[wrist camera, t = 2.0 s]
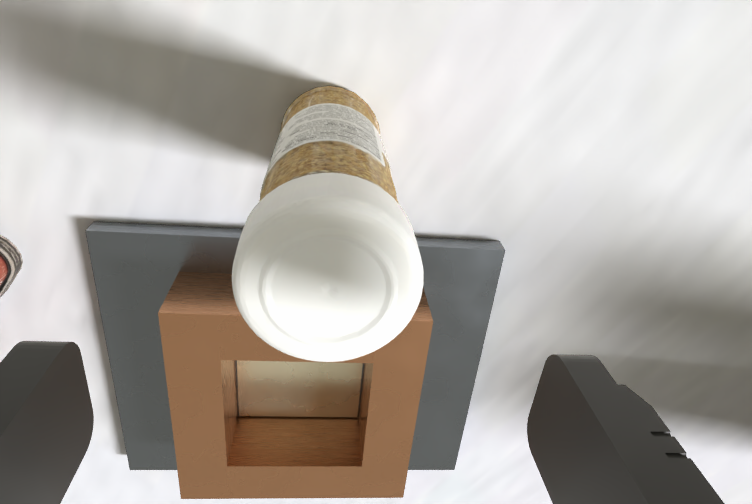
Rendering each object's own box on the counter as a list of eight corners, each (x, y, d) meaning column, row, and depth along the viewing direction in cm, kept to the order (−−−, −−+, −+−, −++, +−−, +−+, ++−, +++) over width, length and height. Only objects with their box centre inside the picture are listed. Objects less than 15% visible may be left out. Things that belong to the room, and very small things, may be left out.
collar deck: (499, 241, 27) (528, 286, 23) (451, 457, 35) (466, 519, 31) (94, 221, 25) (49, 268, 21) (135, 456, 32) (108, 523, 28)
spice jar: (358, 194, 25) (381, 388, 14) (266, 161, 24) (205, 342, 12) (395, 105, 24) (461, 241, 12) (298, 65, 22) (261, 170, 11)
